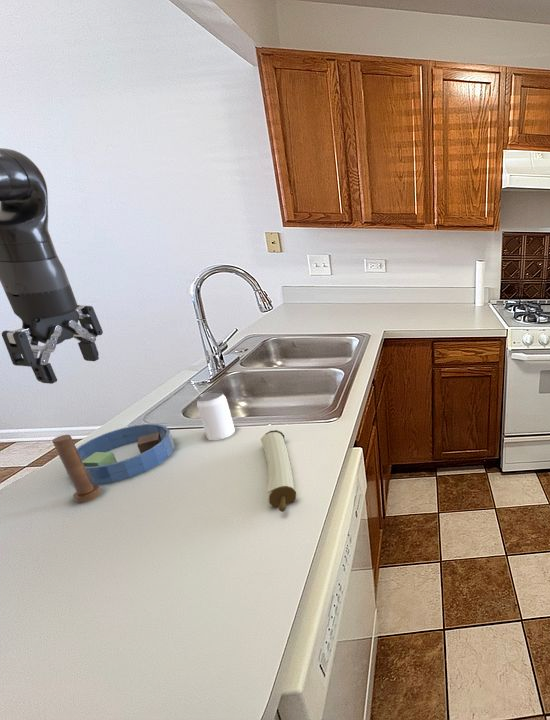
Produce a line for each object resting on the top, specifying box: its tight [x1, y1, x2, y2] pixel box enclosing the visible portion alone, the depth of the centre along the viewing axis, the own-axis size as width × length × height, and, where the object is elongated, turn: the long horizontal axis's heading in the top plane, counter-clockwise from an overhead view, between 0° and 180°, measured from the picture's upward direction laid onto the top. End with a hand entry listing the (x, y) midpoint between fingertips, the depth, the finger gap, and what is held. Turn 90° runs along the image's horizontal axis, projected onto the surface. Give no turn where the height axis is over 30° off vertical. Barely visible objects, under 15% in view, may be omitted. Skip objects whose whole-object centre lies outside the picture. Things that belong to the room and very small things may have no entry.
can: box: [196, 390, 236, 441], centre depth 104 cm, size 6×6×12 cm
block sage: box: [82, 451, 118, 467], centre depth 90 cm, size 4×4×4 cm
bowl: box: [76, 423, 175, 486], centre depth 94 cm, size 18×18×5 cm
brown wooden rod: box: [52, 434, 102, 504], centre depth 81 cm, size 4×4×15 cm
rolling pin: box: [260, 429, 297, 513], centre depth 90 cm, size 32×6×5 cm, turn 29°
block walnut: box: [136, 432, 162, 454], centre depth 97 cm, size 4×4×4 cm
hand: (71, 370), depth 72 cm, fingers open, 8 cm apart
